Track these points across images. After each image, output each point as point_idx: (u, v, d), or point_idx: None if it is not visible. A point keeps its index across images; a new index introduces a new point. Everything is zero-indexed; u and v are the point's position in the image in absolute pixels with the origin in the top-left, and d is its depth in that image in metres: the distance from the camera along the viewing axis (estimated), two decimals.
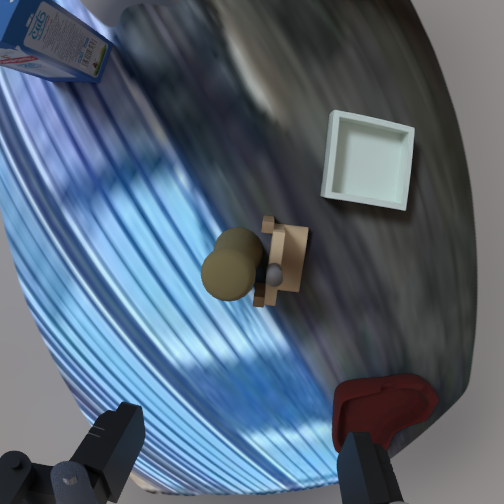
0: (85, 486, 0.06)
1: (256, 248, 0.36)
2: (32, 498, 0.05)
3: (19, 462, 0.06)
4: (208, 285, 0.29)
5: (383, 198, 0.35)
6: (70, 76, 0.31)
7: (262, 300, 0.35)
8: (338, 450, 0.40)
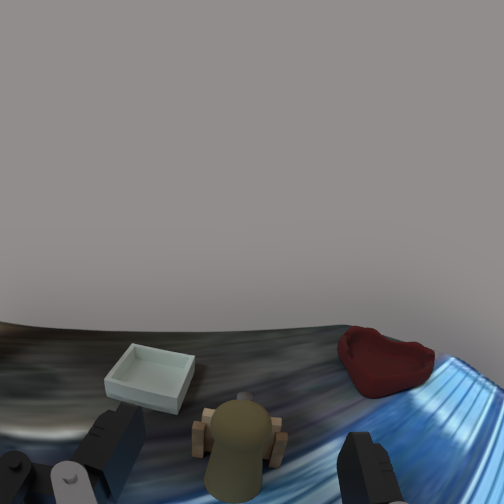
0: (85, 486, 0.06)
1: None
2: (32, 498, 0.05)
3: (19, 462, 0.06)
4: (251, 427, 0.22)
5: None
6: None
7: (279, 433, 0.28)
8: (429, 367, 0.42)
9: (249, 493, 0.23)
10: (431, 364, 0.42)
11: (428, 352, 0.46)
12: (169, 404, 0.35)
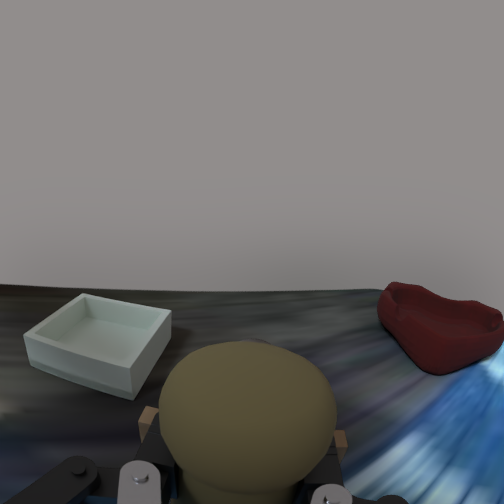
0: (159, 484, 0.07)
1: None
2: None
3: (84, 469, 0.06)
4: (284, 415, 0.07)
5: None
6: None
7: None
8: None
9: None
10: None
11: (494, 311, 0.31)
12: (118, 380, 0.19)
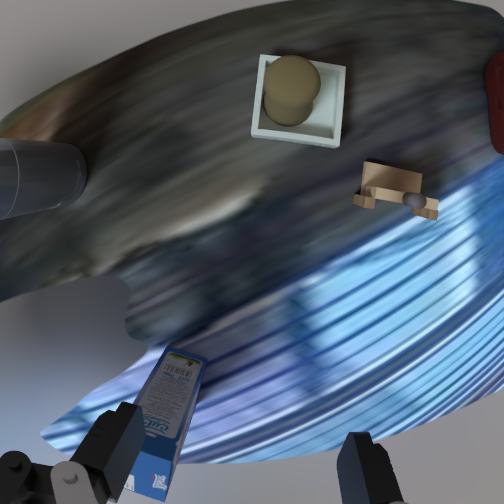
0: (85, 486, 0.06)
1: None
2: (32, 498, 0.05)
3: (19, 462, 0.06)
4: (298, 94, 0.24)
5: (333, 86, 0.33)
6: (198, 387, 0.41)
7: (432, 211, 0.32)
8: None
9: (298, 121, 0.34)
10: None
11: None
12: (328, 145, 0.35)
